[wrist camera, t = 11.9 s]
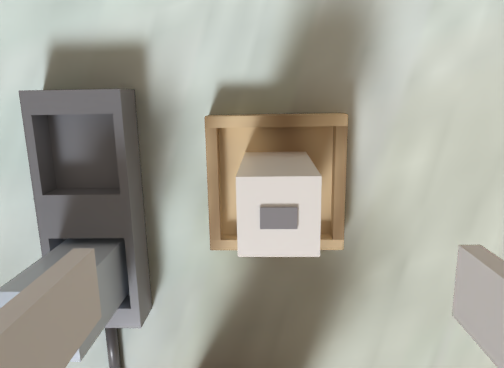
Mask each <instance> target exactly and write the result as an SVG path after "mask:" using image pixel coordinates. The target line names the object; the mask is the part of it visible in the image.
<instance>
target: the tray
mask: <svg viewBox="0 0 504 368" xmlns="http://www.w3.org/2000/svg"><path fill="white" fill-rule="evenodd" d="M347 131H348V114H345V113H311V114H250V115H208V116H205V137H206V160H207V183H208V206H209V229H210V250H238V248H237V210H236V175H237V172H238V169H239V167H240V164H241V162H242V159H243V156H244V154H245V152H306V153H307V154H308V156H309V157H310V159H311V160H312V162H313V163H314V165H315V167H316V168H317V170H318V171H319V173H320V174H321V176H322V187H321V233H320V250H343V247H344V218H345V189H346V160H347Z"/></svg>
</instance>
